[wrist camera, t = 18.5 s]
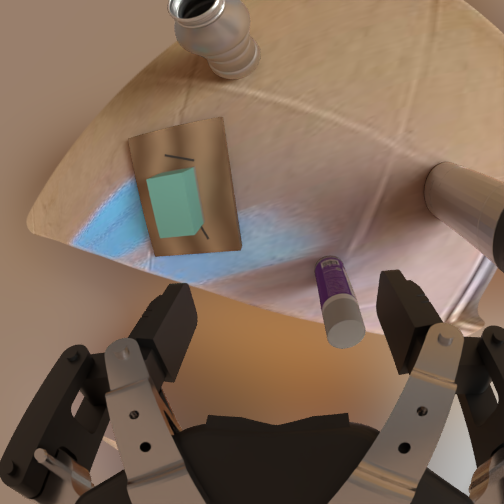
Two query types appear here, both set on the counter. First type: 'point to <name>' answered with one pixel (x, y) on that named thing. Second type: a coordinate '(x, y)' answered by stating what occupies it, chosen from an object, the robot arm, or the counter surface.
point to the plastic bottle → (217, 34)
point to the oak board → (208, 176)
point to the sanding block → (176, 202)
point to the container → (338, 304)
